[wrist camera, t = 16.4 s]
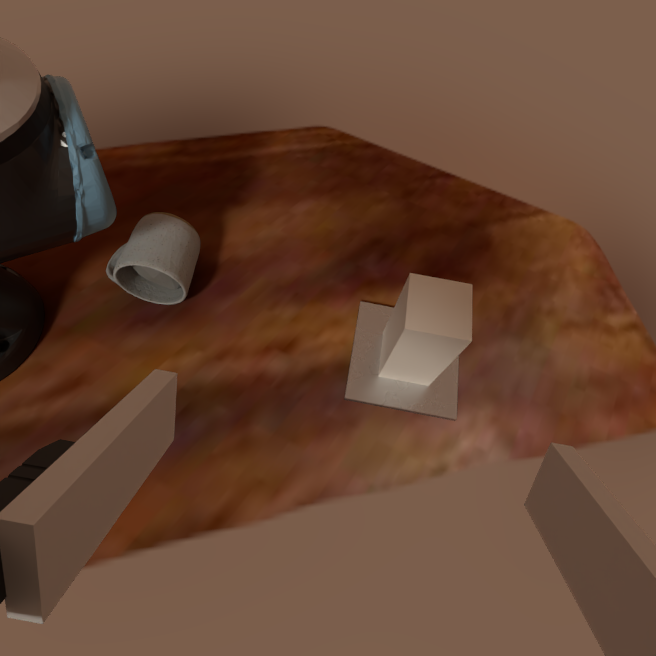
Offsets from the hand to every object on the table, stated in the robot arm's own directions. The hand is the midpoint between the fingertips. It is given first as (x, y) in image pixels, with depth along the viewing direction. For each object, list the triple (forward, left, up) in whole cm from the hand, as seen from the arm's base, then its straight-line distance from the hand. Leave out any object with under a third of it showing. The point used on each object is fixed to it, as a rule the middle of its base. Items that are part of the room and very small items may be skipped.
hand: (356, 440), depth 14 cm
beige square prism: (-10, +14, -27) cm, 32 cm away
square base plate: (-10, +14, -28) cm, 33 cm away
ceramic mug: (-29, -10, -28) cm, 42 cm away
